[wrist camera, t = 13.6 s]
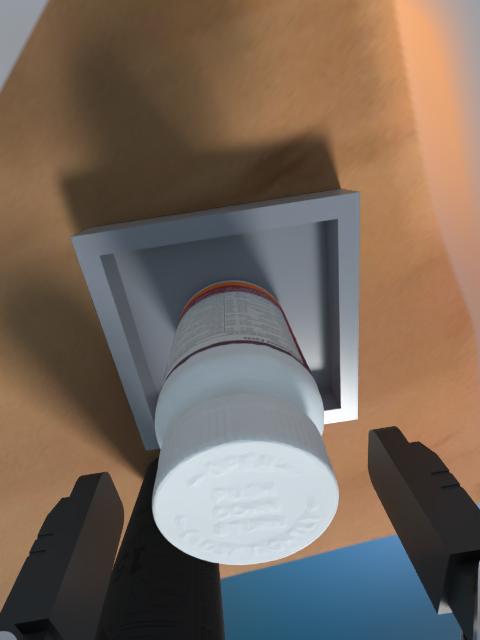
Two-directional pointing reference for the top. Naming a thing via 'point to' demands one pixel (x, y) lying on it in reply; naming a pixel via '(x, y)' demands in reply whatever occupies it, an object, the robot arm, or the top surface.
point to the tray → (230, 264)
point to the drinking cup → (159, 585)
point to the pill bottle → (240, 433)
